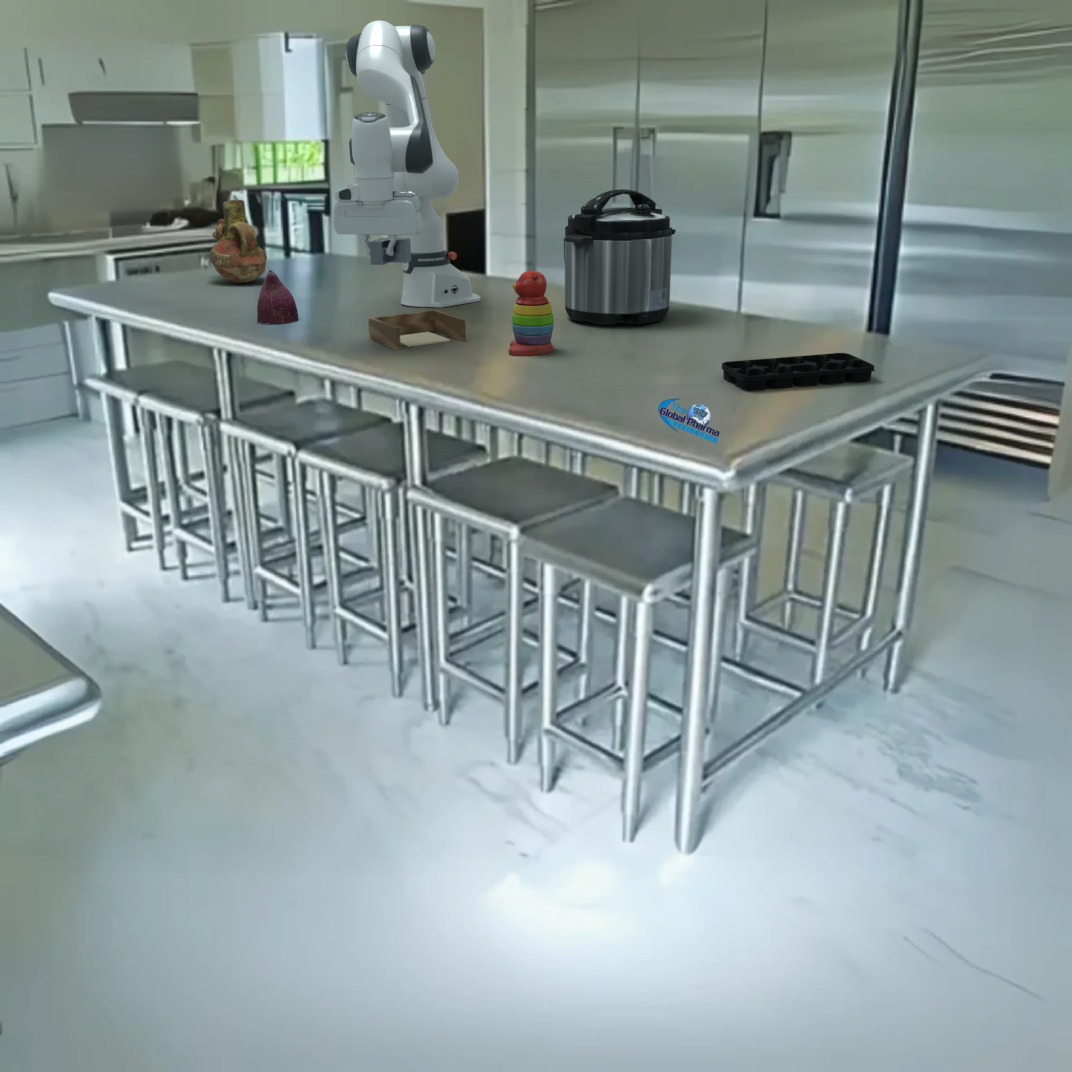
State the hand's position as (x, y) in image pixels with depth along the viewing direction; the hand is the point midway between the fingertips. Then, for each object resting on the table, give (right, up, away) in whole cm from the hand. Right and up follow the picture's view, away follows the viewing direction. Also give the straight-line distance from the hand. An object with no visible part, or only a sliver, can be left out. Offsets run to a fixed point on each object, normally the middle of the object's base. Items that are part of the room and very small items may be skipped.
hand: (380, 255), depth 243 cm
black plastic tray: (+88, -33, -27) cm, 97 cm away
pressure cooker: (+56, -7, +35) cm, 66 cm away
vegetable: (-32, -8, +36) cm, 49 cm away
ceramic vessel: (-58, +16, +95) cm, 113 cm away
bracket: (+2, -1, +1) cm, 3 cm away
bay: (+7, -17, +12) cm, 22 cm away
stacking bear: (+34, -22, 0) cm, 41 cm away
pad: (+7, -17, +12) cm, 22 cm away
